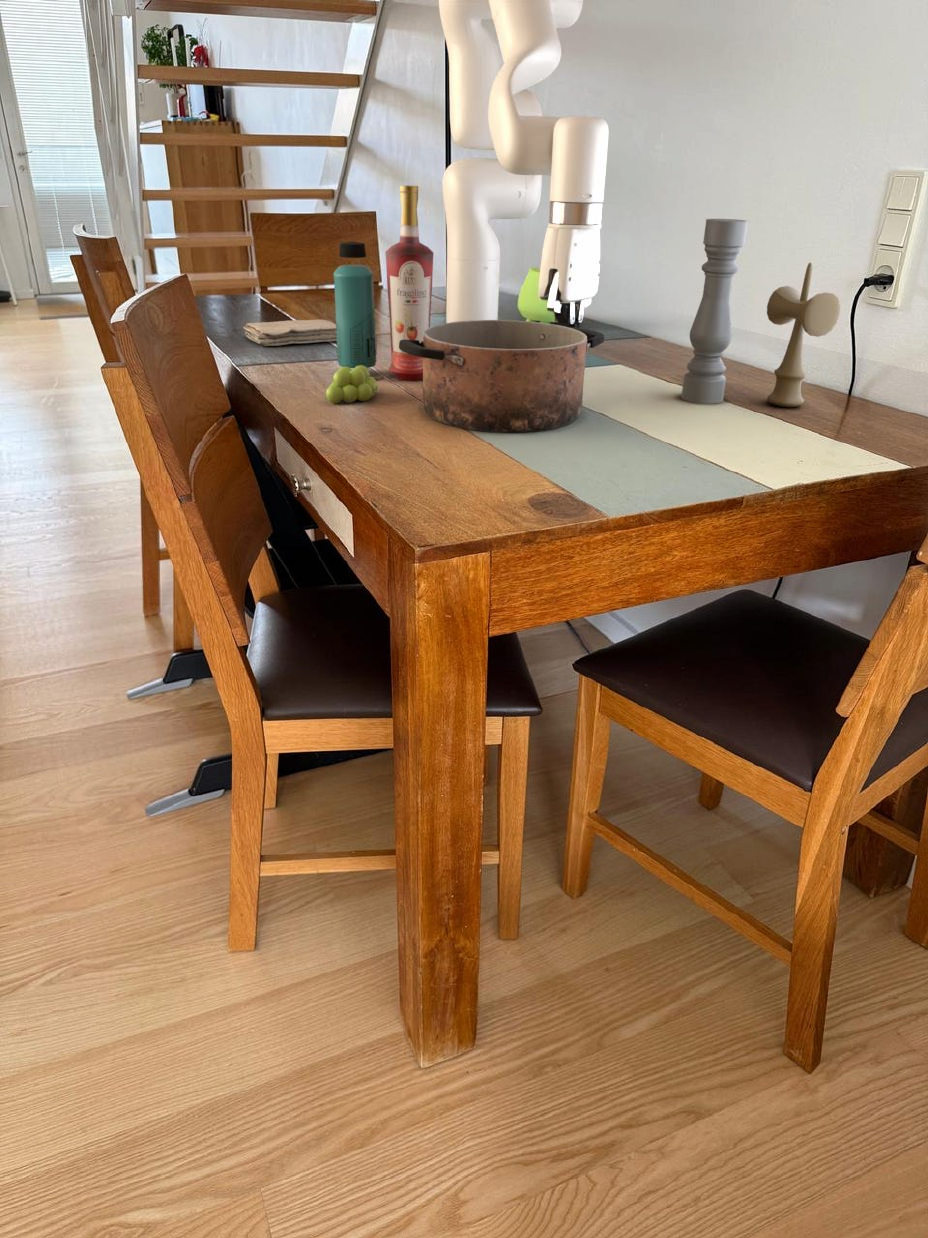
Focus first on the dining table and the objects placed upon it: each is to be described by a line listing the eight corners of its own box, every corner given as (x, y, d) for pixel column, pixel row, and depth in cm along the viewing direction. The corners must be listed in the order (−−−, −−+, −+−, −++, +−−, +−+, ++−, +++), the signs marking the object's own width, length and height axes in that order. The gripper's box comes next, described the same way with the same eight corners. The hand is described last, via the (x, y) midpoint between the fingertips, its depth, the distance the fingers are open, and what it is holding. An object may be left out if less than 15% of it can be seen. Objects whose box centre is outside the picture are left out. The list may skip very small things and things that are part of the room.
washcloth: (241, 337, 176) (239, 320, 175) (329, 330, 184) (328, 314, 182) (260, 348, 167) (259, 330, 165) (352, 341, 175) (351, 324, 173)
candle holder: (724, 396, 141) (751, 219, 130) (720, 405, 136) (748, 222, 125) (683, 392, 143) (706, 217, 132) (678, 401, 138) (702, 220, 126)
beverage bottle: (370, 379, 146) (367, 244, 137) (331, 376, 148) (325, 242, 138) (382, 370, 152) (379, 240, 143) (343, 368, 153) (338, 239, 144)
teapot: (602, 330, 191) (607, 266, 185) (545, 334, 186) (550, 268, 180) (553, 315, 207) (557, 256, 201) (500, 318, 202) (503, 257, 196)
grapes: (367, 386, 142) (366, 357, 140) (401, 394, 138) (401, 363, 136) (311, 400, 133) (310, 369, 131) (346, 408, 130) (345, 376, 128)
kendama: (788, 414, 132) (815, 266, 123) (748, 398, 140) (771, 258, 131) (822, 411, 134) (851, 265, 125) (780, 396, 142) (805, 258, 133)
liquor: (389, 382, 145) (386, 186, 132) (385, 372, 151) (382, 184, 138) (435, 381, 146) (436, 187, 133) (429, 371, 152) (430, 185, 139)
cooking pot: (549, 385, 145) (554, 314, 140) (635, 420, 127) (643, 340, 123) (373, 403, 133) (371, 326, 128) (441, 444, 115) (441, 357, 110)
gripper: (579, 213, 137) (570, 340, 145) (524, 216, 126) (518, 353, 134) (624, 215, 133) (612, 346, 141) (571, 219, 122) (562, 360, 130)
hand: (566, 349), depth 138 cm, fingers closed
